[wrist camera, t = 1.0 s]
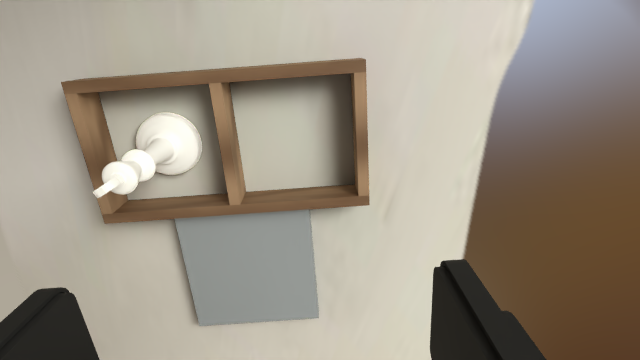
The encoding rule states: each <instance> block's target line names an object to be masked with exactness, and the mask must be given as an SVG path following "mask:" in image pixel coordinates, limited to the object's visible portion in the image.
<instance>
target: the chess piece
mask: <svg viewBox="0 0 640 360" xmlns="http://www.w3.org/2000/svg"><path fill="white" fill-rule="evenodd" d="M136 147H137V149H135V150H130V151H128V152H126V153H125V154H124V156H123V157H122V159H121V161H116V162H112V163H109V164H108V165H106V166H105V167H104V169H103V171H102V180H103V183H104V185H102V186H101V187H99V188H98V189H96V190H95V191H93V192H92V193H93V194H94V195H95V196H96V197H97V198H99V197H101V196H103V195H104V194H106V193H107V192H109V191H112V192H114V193H116V194H121V195H124V194H129V193H131V192H132V191H134V190H135V189H136V187H137V185H138V183H139V182H141V181H146V180H149V179H150V178H151V177H152V176H153V175H154V173H155V171H157V172H159V173H162V174H166V175H177V174H181V173H184V172H186V171H188V170H190V169H191V168H193V167H194V166H195V165H196V164H197V162H198V161H199V159H200V157H201V153H202V140H201V137H200V134H199V132H198V131H197V129H196V128H195V126H194V125H193V124H192V123H191V122H190V121H189V120H187V119H186V118H184V117H183V116H181V115H178V114H175V113H170V112H162V113H157V114H154V115H152V116H150V117H149V118H147V119H146V120H145V121H144V122H143V123H142V124H141V126H140V127H139V129H138V131H137V135H136Z"/></svg>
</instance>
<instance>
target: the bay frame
mask: <svg viewBox="0 0 640 360" xmlns="http://www.w3.org/2000/svg"><path fill="white" fill-rule="evenodd" d="M345 73H351V92H352V118H353V143H354V169H355V184H352V185H338V186H324V187H310V188H296V189H282V190H268V191H254V192H246V188H245V182H244V175H243V169H242V162H241V156H240V149H239V143H238V136H237V130H236V123H235V117H234V110H233V104H232V97H231V90H230V84H229V82H238V81H251V80H265V79H278V78H292V77H305V76H319V75H332V74H345ZM61 84H62V87H63V90H64V94H65V97H66V100H67V103H68V106H69V110H70V113H71V116H72V119H73V123H74V126H75V129H76V132H77V135H78V139H79V142H80V145H81V148H82V152H83V155H84V158H85V161H86V164H87V168H88V171H89V174H90V177H91V181H92V184H93V187H94V190H96V189H98V188H99V187H101V186H102V185H104V183H103V180H102V171H103V169H104V167H105V166H106V165H108V164H109V163H112V162H116V161H117V159H116V155H115V152H114V148H113V144H112V141H111V137H110V134H109V130H108V126H107V123H106V119H105V116H104V112H103V108H102V105H101V101H100V98H99V94H98V92H103V91H117V90H130V89H144V88H157V87H170V86H184V85H197V84H209V88H210V93H211V99H212V105H213V111H214V117H215V122H216V128H217V134H218V140H219V146H220V151H221V157H222V163H223V169H224V175H225V180H226V186H227V192H228V193H225V194H211V195H197V196H183V197H169V198H155V199H141V200H128V198H127V195H126V194H124V195H121V194H116V193H114V192H112V191H109V192H107V193H106V194H104V195H103V196H101V197H99V198H97V200H98V203H99V206H100V210H101V213H102V216H103V219H104V222H105V224H107V223H122V222H136V221H150V220H164V219H178V218H193V217H207V216H221V215H235V214H250V213H264V212H278V211H292V210H307V209H321V208H335V207H349V206H363V205H369V170H368V130H367V90H366V59H363V58H356V59H342V60H329V61H316V62H302V63H289V64H276V65H262V66H249V67H235V68H222V69H209V70H195V71H182V72H169V73H155V74H142V75H128V76H115V77H102V78H88V79H79V80H72V81H66V82H61Z"/></svg>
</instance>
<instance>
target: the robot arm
mask: <svg viewBox="0 0 640 360" xmlns="http://www.w3.org/2000/svg"><path fill="white" fill-rule="evenodd" d="M430 353H431V358H432V360H546V359H545V357H544V356H543V355H542V353H541V352H540V351H539V349H538V348H537V346H536V345H535V344H534V342H533V341H532V340H531V338H530V337H529V335H528V334H527V333H526V331H525V330H524V329H523V327H522V326H521V324H520V323H519V322H518V320H517V319H516V318H515V316H514V315H513V314H512V313H510V312H508V311H501V310H500V308H499V307H498V305H497V304H496V302H495V301H494V299H493V298H492V297H491V295H490V294H489V292H488V291H487V289H486V288H485V287H484V285H483V284H482V282H481V281H480V279H479V278H478V276H477V275H476V273H475V272H474V271H473V269H472V268H471V266H470V265H469V263H468V262H467V261H466V260H464V259H463V260H448V261H442V262H441V265H440V267H435V268H434V273H433V294H432V316H431V337H430ZM0 360H99V357H98V355H97V352H96V349H95V347H94V344H93V342H92V339H91V336H90V334H89V331H88V329H87V326H86V323H85V321H84V318H83V316H82V313H81V310H80V308H79V305H78V303H77V300H76V297H75V296H74V294H72V293H70V292H69V291H68V290H67V289H66V288H48V289H39V290H37V291H35V292H34V293H33V294H32V295H30V296H29V297H28V298H27V299H26V300H25V301H24V302H23V303H22V304H21V305H20V306H18V307H17V308H16V309H15V310H14V311H13V312H12V313H11V314H9V315H8V316H7V317H6V318H5V319H4V320H3V321H2V322H0Z"/></svg>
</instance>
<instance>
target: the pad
mask: <svg viewBox="0 0 640 360" xmlns="http://www.w3.org/2000/svg"><path fill="white" fill-rule="evenodd" d="M175 224H176V228H177V232H178V236H179V241H180V245H181V249H182V253H183V258H184V262H185V266H186V270H187V275H188V279H189V283H190V288H191V292H192V296H193V300H194V305H195V309H196V313H197V317H198V322H199V326H208V325H223V324H238V323H253V322H268V321H283V320H298V319H313V318H319V309H318V298H317V286H316V275H315V264H314V252H313V241H312V230H311V219H310V209H307V210H292V211H278V212H264V213H250V214H235V215H221V216H207V217H193V218H178V219H175Z"/></svg>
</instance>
